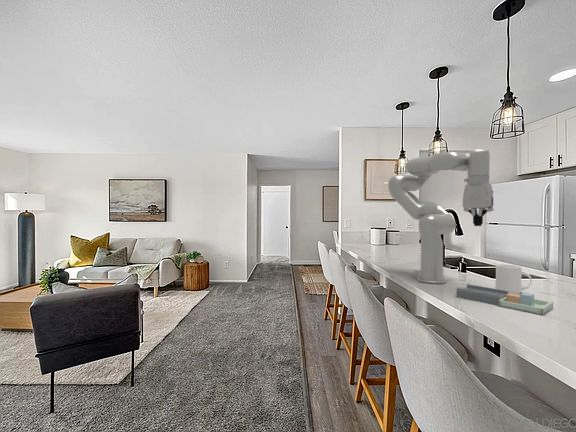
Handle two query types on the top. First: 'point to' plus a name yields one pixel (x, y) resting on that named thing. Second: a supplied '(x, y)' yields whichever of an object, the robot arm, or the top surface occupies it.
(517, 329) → the top surface
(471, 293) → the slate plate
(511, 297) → the tan small block
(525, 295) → the tile front
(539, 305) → the tray
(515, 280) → the mug
